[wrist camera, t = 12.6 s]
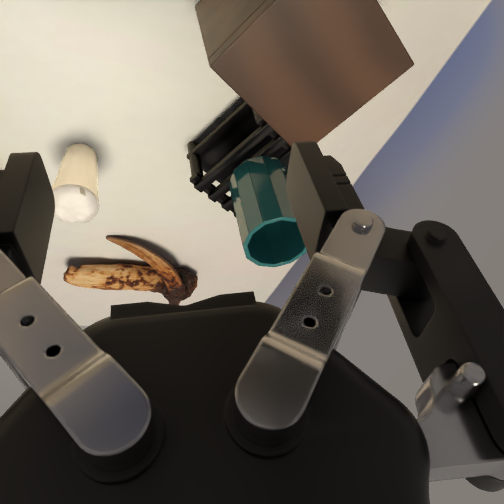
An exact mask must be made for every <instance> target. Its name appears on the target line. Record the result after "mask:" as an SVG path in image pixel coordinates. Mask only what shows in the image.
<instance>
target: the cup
mask: <svg viewBox="0 0 504 504" xmlns="http://www.w3.org/2000/svg"><path fill="white" fill-rule="evenodd" d="M287 172H288V168H287V166H286V165H284V164H283V163H282V162H281V161H280V160H279V159H277V158H273V157H268V156H258V157H254V158H251V159H247V160H245V161H244V162H243V163H242V164H240V165H239V166H238V167H237V168H236V169H234V171H233V173H232V176H231V179H230V182H229V187H230V191H231V195H232V200H233V204H234V209H235V213H236V218H237V222H238V227H239V231H240V236H241V240H242V245H243V248H244V251H245V255H246V258H247V259H249V260H250V261H252V262H253V263H255V264H257V265H259V266H267V267H277V266H281V265H285V264H289V263H291V262H293V261H295V260H296V259H298V258H299V257H301V256H302V255H304V254H305V253H306V251H307V250H306V247H305V244H304V242H303V239H302V236H301V233H300V230H299V228H298V225H297V222H296V219H295V216H294V214H293V211H292V208H291V205H290V202H289V200H288V197H287V191H286V179H287Z"/></svg>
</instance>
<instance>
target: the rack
mask: <svg viewBox="0 0 504 504" xmlns="http://www.w3.org/2000/svg"><path fill="white" fill-rule="evenodd" d="M290 153H291V146H290V145H289V144H288V143H287V142H286V141H285V140H284V139H283V138H282V137H281V136H280V135H279V134H278V133H277V132H276V131H275V130H274V129H273V128H272V127H271V126H270V125H269V124H268V123H267V122H266V121H265V120H264V119H263V118H261V117H260V116H259V115H258V114H257V113H256V112H255V111H254V110H253V109H252V108H251V107H250V106H249V105H248V104H247V103H246V102H244V103H243V104H242V105H240V106H239V107H238V108H237V109H236V110H235V111H234V112H233V113H232V114H231V115H230V116H229V117H227V118H226V119H225V120H224V121H223V122H222V123H221V124H220V125H219V126H218V127H217V128H216V129H214V130H213V131H212V132H211V133H210V134H209V135H208V136H207V137H206V138H205V139H204V140H203V141H201V142H200V143H199V144H197V143H196V142H190V143H189V144H188V154H187V158H188V159H189V160H190V167H191V175H192V177H190V182H191V183H193V184H194V188H195V189H197V190H198V191H200V192H203V191H204V192H205V193H207V194H208V198H209V199H211V200H212V201H214V202H216V201H218V202H219V203H221V206H222V208H223V209H225V210H226V211H229V210H230V211H232V212H233V213H234V216H235V217H236V213H235V209H234V204H233V200H232V195H231V196H230V197H229V196H227V195H226V193H227V192H228V191H229V190H230V187H229V182H230V179H231V176H232V173H233V171H234V169H236V168H237V167H238V166H239V165H240V164H242V163H243V162H244V161H245V160H247V159H251V158H254V157H258V156H268V157H273V158H277V159H279V160H280V161H281V162H282V163H283V164H284V165H286V166H287V168H288V166H289V159H290ZM203 171H205V172H206V174H205V175H204V176H203ZM215 180H217V181H218V182H219V183H221V184H220V185H218V186H217V187H215V186H214V185H213V184H212V183H213V182H214V181H215Z"/></svg>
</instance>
